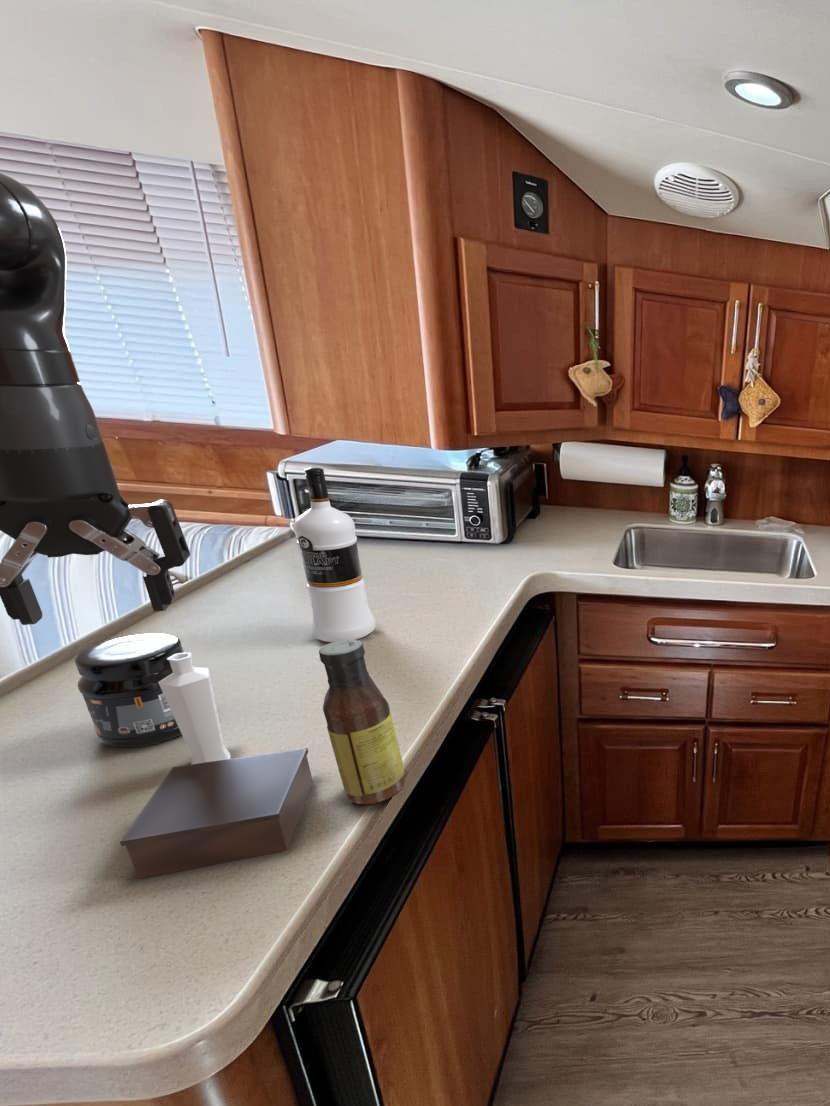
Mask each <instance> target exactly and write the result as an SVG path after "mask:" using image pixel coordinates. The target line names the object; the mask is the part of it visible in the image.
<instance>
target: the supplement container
mask: <svg viewBox="0 0 830 1106" xmlns="http://www.w3.org/2000/svg"><path fill="white" fill-rule="evenodd" d="M182 644H183V643H182V641H181V639H180V638H179V637H177V636H175V635H173V634H168V633H167V634H166V633H141V634H132V635H127V636H122V637H117V638H113V639H109V640H105V641H102V642H99V643H97V644H93V645H92V646H89V647H87V648H85V649H83V650H82V651H80V652H79V653H78V654H77V655H76V656H75V658H74V663H75V666H76V669H77V672H78V674H79V675H80V676H81V677H80V678H79V679H78V681H77V687H78V691H79V693H81V695H82V697H83V700H84V702H85V705H86V707H87V710H88V713H89V716H90V718H91V720H92V723H93V725H94V729H95V733H96V736H97V738H98V739H99V740H100V741H101V742H102V743H104V744H105V745H107V746H111V747H117V748H135V747H138V748H139V747H145V746H149V745H150V746H151V745H155V744H159V743H162V742H166V741H169V740H171V739H175V738H176V737H179V736H182V734H181V731H180V729H179V727H178V725H177V723H176V720H175V718H174V716H173V714H172V712H171V709H170V707H169V705H168V703H167V701H166V698H165V696H164V694H163V692H162V690H161V687H160V685H159V683H158V682H159V681H161V680H162V679H164V678H166V677H167V676H169V675H170V674H172V673H173V671H172V668H171V665H170V662H169V660H167V658H169V657H170V656H172V655H174V654H177V653H185V651H184V648H183V645H182ZM192 663H193V664H194V661H192Z"/></svg>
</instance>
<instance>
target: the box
mask: <svg viewBox="0 0 830 1106" xmlns="http://www.w3.org/2000/svg"><path fill="white" fill-rule="evenodd" d="M308 753H309V748H308V747H303V748H296V749H288V750H281V751H276V752H267V753H260V754H256V755H248V756H241V757H234V758H233V757H232V758H231V759H226V760H219V761H212V762H205V763H198V764H185V765H177V766H173V767H172V768H171V769H170V771H169V772H168V774H167V775H166V777H164V779H163V781H162V782H161V784H160V785H159V786H158V788H157V789H156V790H155V792H154V793H153V794H152V795H151V797H150V799H149V800H148V802H147V803H146V804H145V806H144V807H143V808H142V809H141V811H140V812H139V814H138V815H137V816H136V818H135V820H134V821H133V822H132V823H131V825H130V827H129V828H128V829H127V831H126V832H125V834H124V835H123V836H122V837H121V839H120V840H119V845H120V847H125V848H126V851H127V853H128V855H129V859H130V862H131V864H132V867H133V869H134V871H135V874H136V876H137V878H138V880H141V879H142V880H143V879H146V878H147V879H148V878H151V877H158V876H162V875H167V874H172V873H173V874H174V873H177V872H182V871H187V870H193V869H198V868H202V867H203V868H204V867H207V866H213V865H219V864H224V863H228V862H233V861H238V860H244V859H248V858H254V857H259V856H265V855H269V854H275V853H279V852H284V851H287V850H288V849H289V846H290V844H291V841H292V838H293V836H294V833H295V831H296V828H297V826H298V823H299V821H300V818H301V815H302V813H303V810H304V808H305V805H306V802H307V800H308V797H309V795H310V792H311V790H312V787H313V784H314V779H313V776H312V772H311V768H310V763H309V760H308V759H309V758H308Z"/></svg>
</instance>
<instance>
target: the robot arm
mask: <svg viewBox="0 0 830 1106" xmlns="http://www.w3.org/2000/svg"><path fill="white" fill-rule="evenodd" d="M66 255H67V254H66V247H65V242H64V239H63V236H62V233H61V230H60V228H59V225H58V224H57V222H56V220H55V218H54V216H53V215H52V213H51V211H49V209H48V208H47V206H46V205H45V204H44V203H43V201H42V200H41V199H40V198H39V197H38V196H37V195H36V194H35V193H34V192H33V191H32V190H31V189H29V187H27V186H26V185H24V184H23V183H21V182H20V181H18V180H17V179H14V178H13V177H11V176H10V175H6V174H3V173H1V172H0V532H2V533H4V534H5V535H6V536H8V537H10V538H12V539H13V540H14V542H13V543H12V545H11V546H10V547H9V549H8V550H7V551H6V553H5V554H4V556H3V557H2V558H1V561H0V600H1V602H2V603H3V607H4V609H5V612H6V615H7V616H8V617H10V618H11V620H13V621H15V620H19V622H20V624H21V626H29V625H36V624H38V622H39V621H41V620H42V618H43V612H42V608H41V605H40V604H39V601H38V599H37V598H38V597H37V596H36V593H35V591H34V587H33V585H32V583H31V581H30V579H29V578H24V576H23V574H24V573H25V572H26V571H27V569H28V568H29V566H30V565H31V563H32V562H33V561H34V560H35V558H37V557H38V556H39V555H43V556H47V558H61V557H65V556H70V555H73V554H74V555H79V556H95V555H100V554H101V553H103V552H107V553H109V554H110V555H112V556H113V557H114V558H117V559H118V560H120V561H123V562H127V563H128V564H130V565H132V566H133V567H135V568H137V569H138V570H140V571H141V572H143V573H144V575H143V576H142V579H143V583H144V585H145V588H146V592H147V595H148V598H149V601H150V604H151V607H152V610H153V612H165V611H166V610H167V609H168V608H169V606H170V605H171V604H172V603H173V601H174V600H175V597H176V592H175V588H174V585H173V582H172V578H171V575H170V572H169V570H172V569H173V568H179V567H182V566H184V564H185V563H186V562H187V560H188V559H189V558H190V556H191V551H190V548H189V546H188V543H187V541H186V538H185V536H184V533H183V529H182V527H181V525H180V522H179V519H178V517H177V515H176V511H175V508H174V506H173V503H172V502H171V501H170V500H167V499H158V500H156V501H154V502H152V503H141V504H129V503H128V502H127V501H125V499H124V498H123V497H122V495H121V494H120V490H119V486H118V483H117V480H116V476H115V473H114V470H113V467H112V464H111V460H110V458H109V454H108V452H107V447H106V446H105V442H104V440H103V439H104V438H103V435H102V432H101V429H100V426H99V423H98V420H97V417H96V414H95V412H94V409H93V407H92V405H91V402H90V400H89V399H88V397H87V395H86V393H85V391H84V388H83V386H82V384H81V383H80V382H81V381H80V377H79V374H78V371H77V367H76V364H75V361H74V358H73V356H72V355H73V354H72V353H71V350H70V346H69V343H68V340H67V338H66V335H65V316H66V289H67V287H66V286H67V285H66V283H67V281H66V280H67V274H66V273H67V256H66ZM133 518H135V519H137V520H140V521H141V523H142V524H143V525H144V526H145V527H147V528H150V529H151V528H152V529H153V530H154V532H155V535H156V537H157V539H158V542H159V545H160V547H161V550H162V554H160V553H158V552H157V551H156V550H154V549H153V548H151V547H150V546H148V545H147V544H146V542H145V541H144V540H143V539H142V538H140V537H138V536H137V535H135V534H134V533H132V532H131V531H129V530H128V529H126V528H127V526H128V525H129V523H130V522H131V521H132V519H133Z"/></svg>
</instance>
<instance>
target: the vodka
mask: <svg viewBox="0 0 830 1106" xmlns="http://www.w3.org/2000/svg"><path fill="white" fill-rule="evenodd" d="M303 470H304V471H303V472H304V475H305V477H304V478H305V480H306V485H307V491H308V496H309V501H310V508H309V509H307V510H306V511H304V512H303V513H301V514H300V515H299V516H297V517H296V519H295V520H294V523H293V532H294V534H295V537H296V540H297V541H296V544H297V546H299V551H300V557H301V560H302V566H303V570H304V574H305V578H306V579H305V580H306V585H305V587H306V589H307V592H308V594H309V595H308V596H309V598H310V604H311V610H312V624H311V629H312V634H313V636H314V637H315V638H316V639H317V640H319V641H322V642H326V643H332V642H335V641H339V640H345V639H353V640H357V641H358V640H360V639H362V638H364V637H367V636H368V635H370V634H372V632H373V631H374V630H375V628H376V619H375V616H374V615H373V612H372V610H371V608H370V605H369V603H368V597H367V593H366V586H365V582H366V580H365V578H364V577H363V571H362V567H361V560H360V553H359V550H358V549H359V548H358V544H357V542H358V537H357V535H356V525H355V521H354V519H353V518H352V517H351V516H350V515H349V514H348V513H345V512H343V511H341V510H339V509H337V508H335V507H333V506H331V502H330V496H329V491H328V487H327V482H326V475H325V470H324V468H322V467H313V466H312V467H306V468H305V469H303Z"/></svg>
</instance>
